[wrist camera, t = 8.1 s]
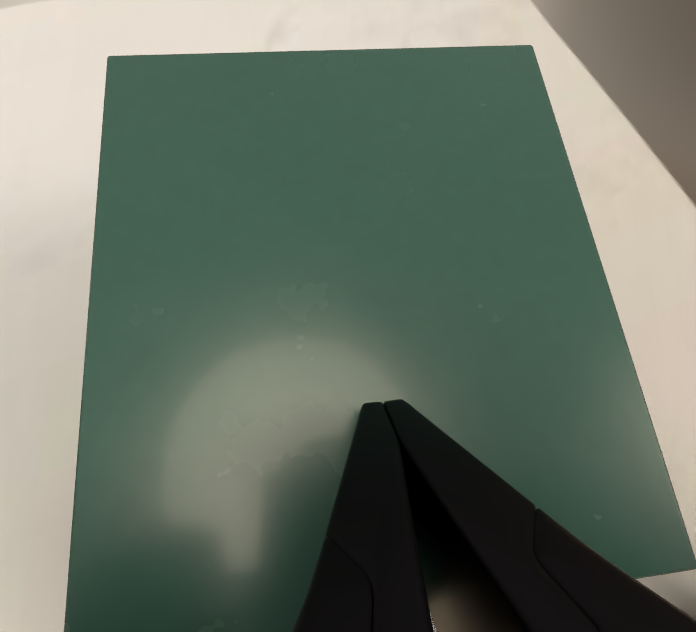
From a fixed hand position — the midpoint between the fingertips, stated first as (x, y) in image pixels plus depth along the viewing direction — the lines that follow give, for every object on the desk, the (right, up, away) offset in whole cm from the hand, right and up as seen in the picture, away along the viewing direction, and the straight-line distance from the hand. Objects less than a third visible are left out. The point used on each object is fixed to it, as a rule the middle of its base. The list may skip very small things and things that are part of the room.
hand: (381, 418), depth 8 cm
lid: (0, +3, +2) cm, 4 cm away
